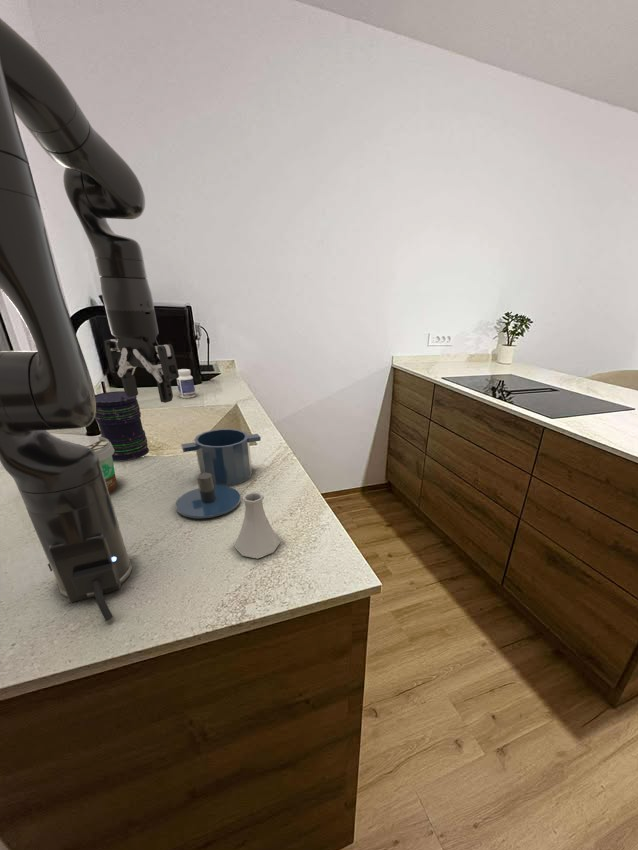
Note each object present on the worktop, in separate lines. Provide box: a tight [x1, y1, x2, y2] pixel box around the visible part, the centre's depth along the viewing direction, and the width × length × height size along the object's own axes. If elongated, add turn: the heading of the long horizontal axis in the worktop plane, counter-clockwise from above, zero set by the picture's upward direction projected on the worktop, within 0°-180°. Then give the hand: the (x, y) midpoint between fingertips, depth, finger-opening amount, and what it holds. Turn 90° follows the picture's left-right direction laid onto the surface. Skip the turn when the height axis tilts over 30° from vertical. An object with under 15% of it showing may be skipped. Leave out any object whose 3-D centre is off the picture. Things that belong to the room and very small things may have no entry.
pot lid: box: [175, 473, 241, 519], centre depth 78 cm, size 12×12×7 cm
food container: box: [85, 436, 118, 494], centre depth 80 cm, size 12×6×10 cm, turn 168°
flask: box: [234, 491, 281, 560], centre depth 65 cm, size 7×7×10 cm
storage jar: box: [94, 390, 150, 462], centre depth 96 cm, size 10×10×15 cm
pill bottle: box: [176, 368, 196, 399], centre depth 146 cm, size 6×6×10 cm
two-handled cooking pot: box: [181, 428, 261, 487], centre depth 89 cm, size 11×17×10 cm
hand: (149, 398), depth 74 cm, fingers open, 8 cm apart
